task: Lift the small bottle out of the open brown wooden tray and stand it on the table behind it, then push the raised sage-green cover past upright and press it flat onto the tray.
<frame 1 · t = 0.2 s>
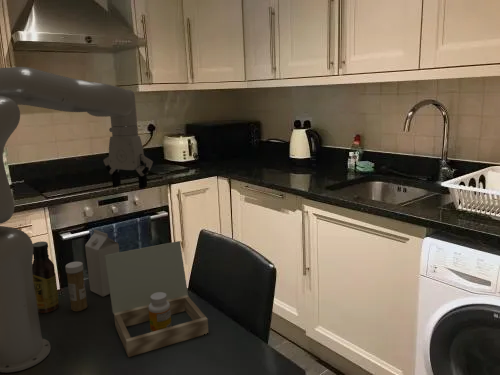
hand: (129, 186, 136), 31 cm above the table, tool pointing down, fingers open, 9 cm apart
sauce bottle: (48, 309, 125), on the table
brown wooden tray: (161, 330, 112), on the table
supplement bottle: (161, 331, 112), resting in brown wooden tray
milk carton: (106, 290, 136), on the table
sprinkles bottle: (79, 308, 125), on the table
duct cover: (147, 275, 118), point 11 cm above the table, hinge at 105.0°, touching brown wooden tray
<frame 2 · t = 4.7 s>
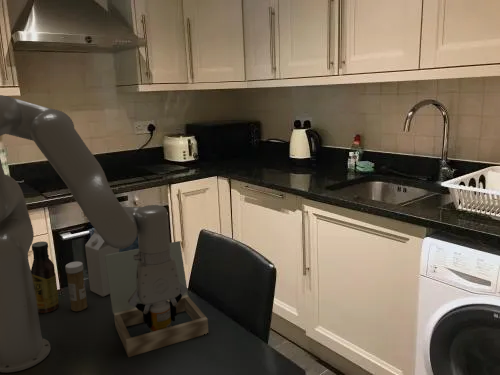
hand: (160, 321, 112), 3 cm above the table, tool pointing down, fingers closed on supplement bottle, 5 cm apart
supplement bottle: (161, 331, 112), resting in brown wooden tray, touching gripper
everything else where it was.
when the fingers open (4 cm above the table, at t = 13.3 s): supplement bottle drops 1 cm, on the table.
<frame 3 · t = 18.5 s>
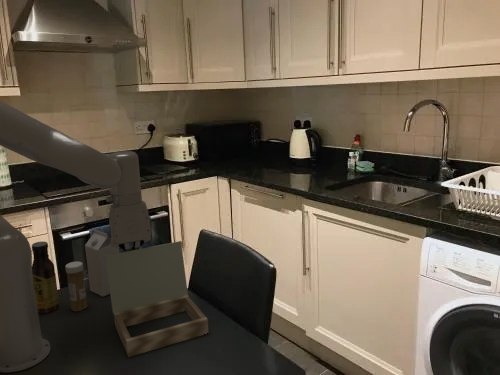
hand: (133, 263, 119), 14 cm above the table, tool pointing down, fingers closed
supplement bottle: (162, 296, 131), on the table
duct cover: (148, 275, 118), point 11 cm above the table, hinge at 101.4°, touching gripper
everything else where it was.
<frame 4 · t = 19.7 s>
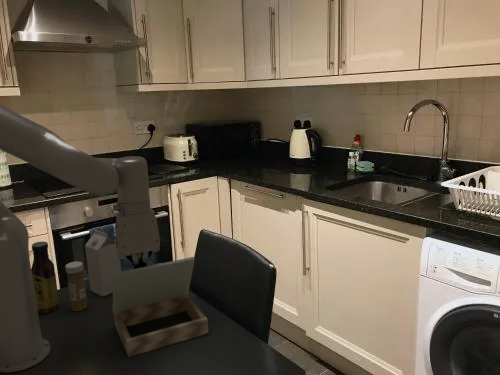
hand: (140, 276, 112), 14 cm above the table, tool pointing down, fingers closed
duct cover: (153, 285, 114), point 11 cm above the table, hinge at 61.0°, touching gripper
everything else where it was.
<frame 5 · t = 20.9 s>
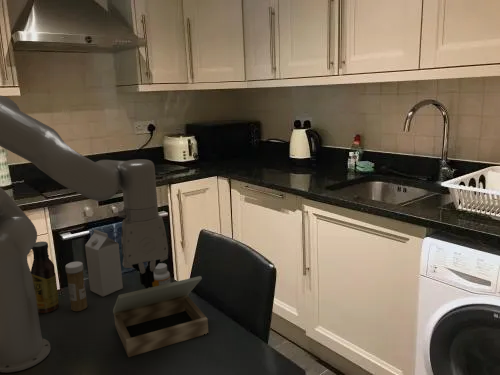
hand: (147, 285, 106), 14 cm above the table, tool pointing down, fingers closed
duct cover: (156, 294, 112), point 9 cm above the table, hinge at 38.8°, touching brown wooden tray, gripper
everything else where it was.
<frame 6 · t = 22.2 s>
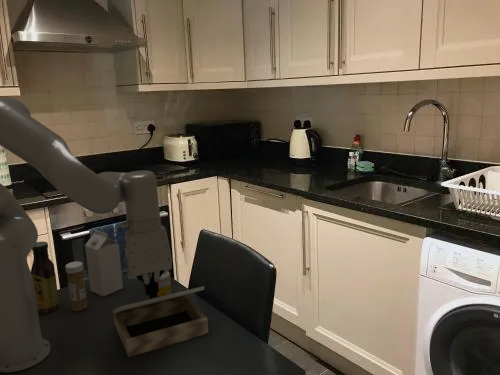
hand: (152, 296, 106), 12 cm above the table, tool pointing down, fingers closed
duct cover: (157, 300, 111), point 8 cm above the table, hinge at 28.7°, touching brown wooden tray, gripper
everything else where it was.
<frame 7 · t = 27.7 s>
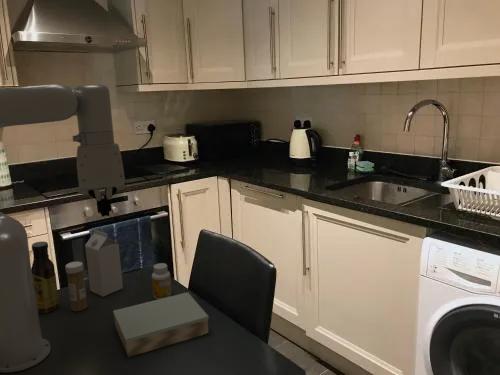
hand: (104, 214, 106), 31 cm above the table, tool pointing down, fingers closed
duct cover: (160, 314, 111), point 4 cm above the table, hinge at 0.0°, touching brown wooden tray
everything else where it was.
at the end: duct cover at +0° (first picture: +105°); supplement bottle inside the target area (0.2 cm from its centre), on the table; supplement bottle tilted 0° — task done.
